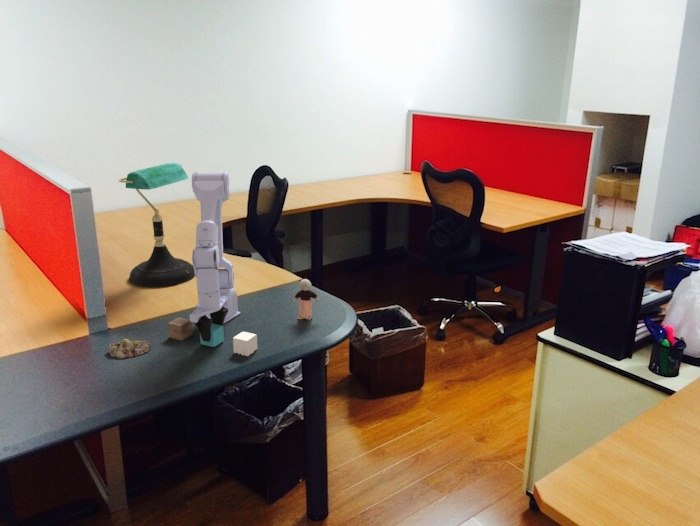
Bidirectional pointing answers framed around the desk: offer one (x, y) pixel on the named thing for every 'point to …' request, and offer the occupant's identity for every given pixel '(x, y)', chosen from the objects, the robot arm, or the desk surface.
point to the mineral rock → (128, 348)
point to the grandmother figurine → (305, 300)
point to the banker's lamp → (158, 231)
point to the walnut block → (180, 328)
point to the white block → (245, 343)
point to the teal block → (214, 336)
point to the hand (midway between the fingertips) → (212, 336)
